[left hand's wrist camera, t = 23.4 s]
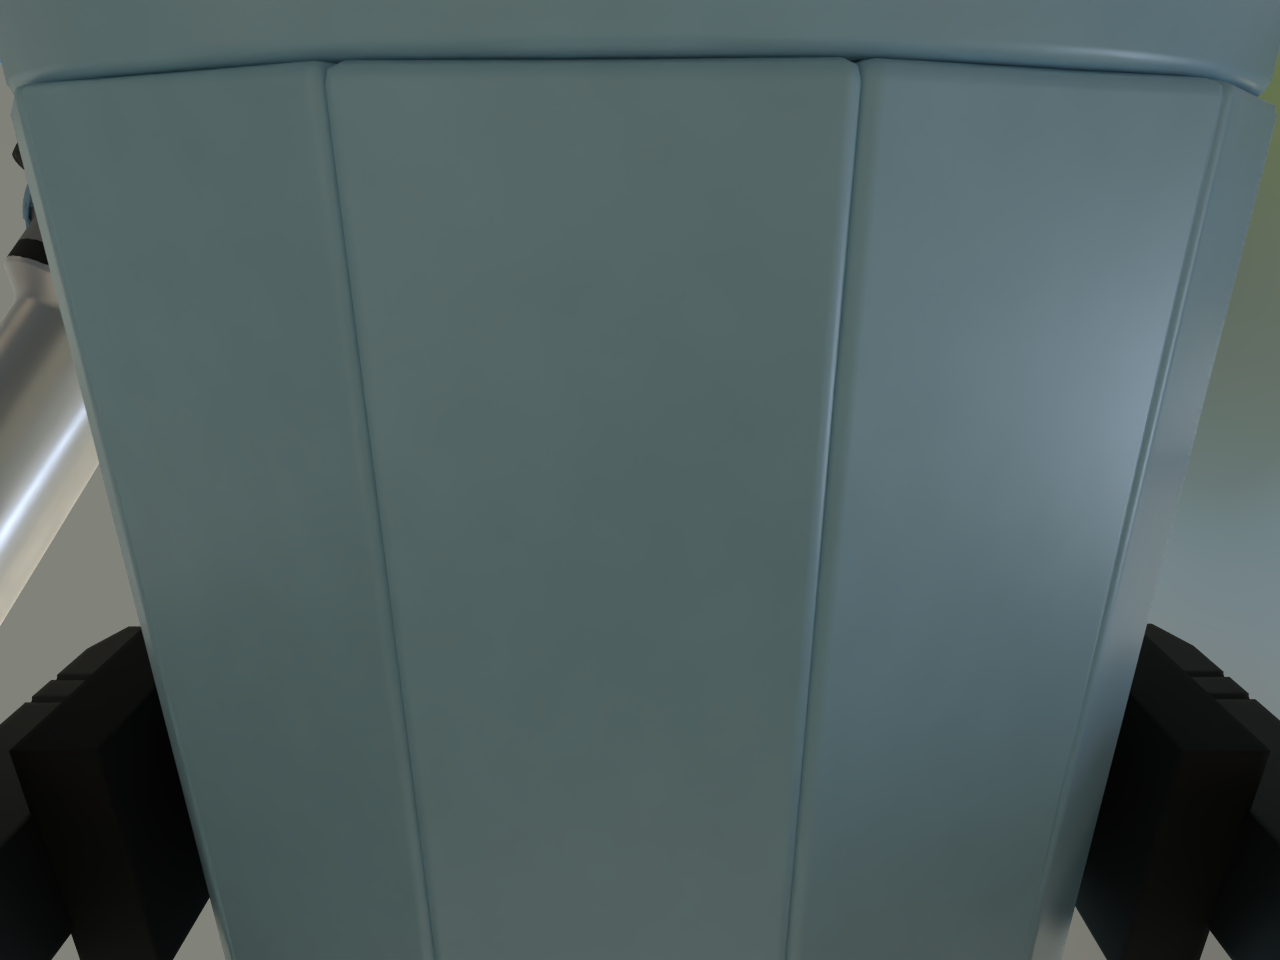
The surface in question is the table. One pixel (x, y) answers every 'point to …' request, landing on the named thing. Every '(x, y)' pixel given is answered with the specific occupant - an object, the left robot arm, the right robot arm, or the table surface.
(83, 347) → the beaker
